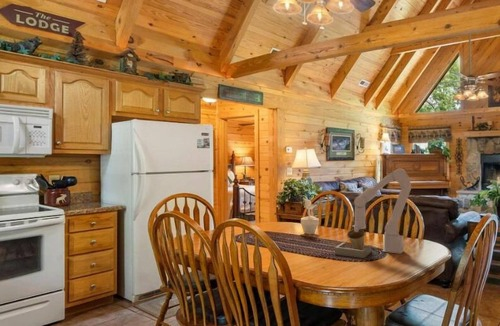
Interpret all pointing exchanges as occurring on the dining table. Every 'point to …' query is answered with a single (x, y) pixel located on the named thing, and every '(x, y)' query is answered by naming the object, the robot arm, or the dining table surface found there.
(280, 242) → the dining table surface
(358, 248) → the flower pot
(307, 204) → the potted plant
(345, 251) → the pot holder
